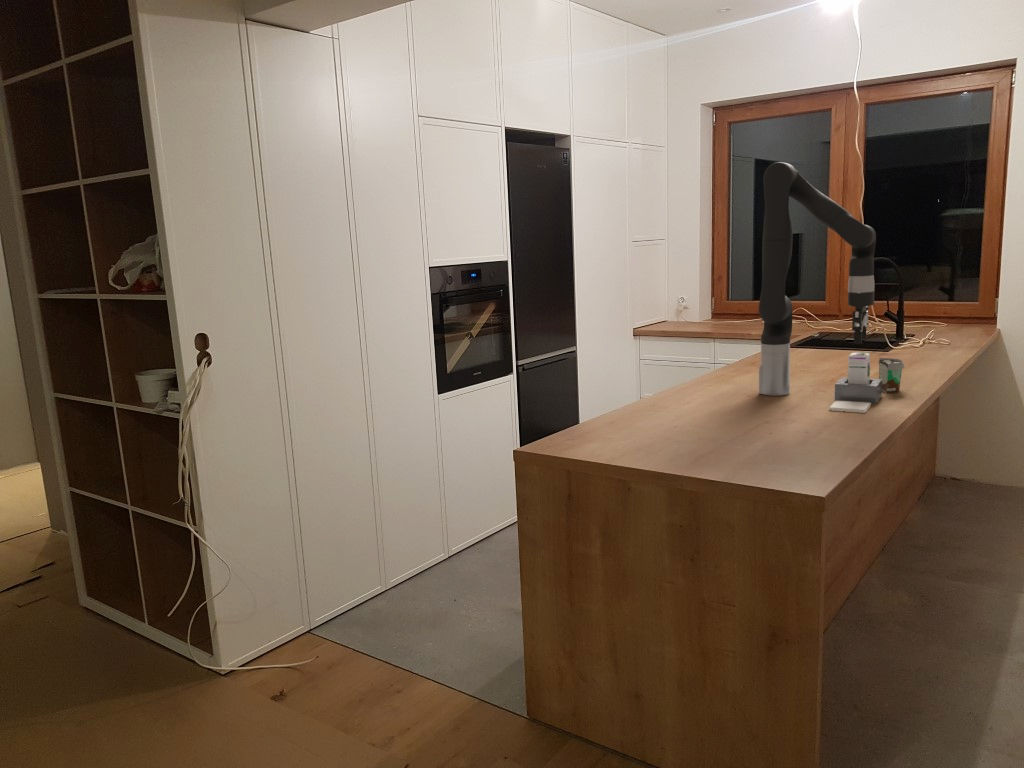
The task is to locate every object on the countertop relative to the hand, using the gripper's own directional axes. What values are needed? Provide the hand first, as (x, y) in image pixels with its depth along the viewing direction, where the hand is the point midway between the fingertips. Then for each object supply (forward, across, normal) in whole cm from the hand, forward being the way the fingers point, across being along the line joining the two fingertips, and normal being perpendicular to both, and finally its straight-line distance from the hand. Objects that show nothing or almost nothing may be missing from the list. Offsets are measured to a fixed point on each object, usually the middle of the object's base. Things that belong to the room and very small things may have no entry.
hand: (860, 341), depth 240 cm
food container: (+19, -16, +8) cm, 26 cm away
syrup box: (+18, 0, 0) cm, 19 cm away
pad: (+18, +14, 0) cm, 23 cm away
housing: (+18, 0, 0) cm, 18 cm away
